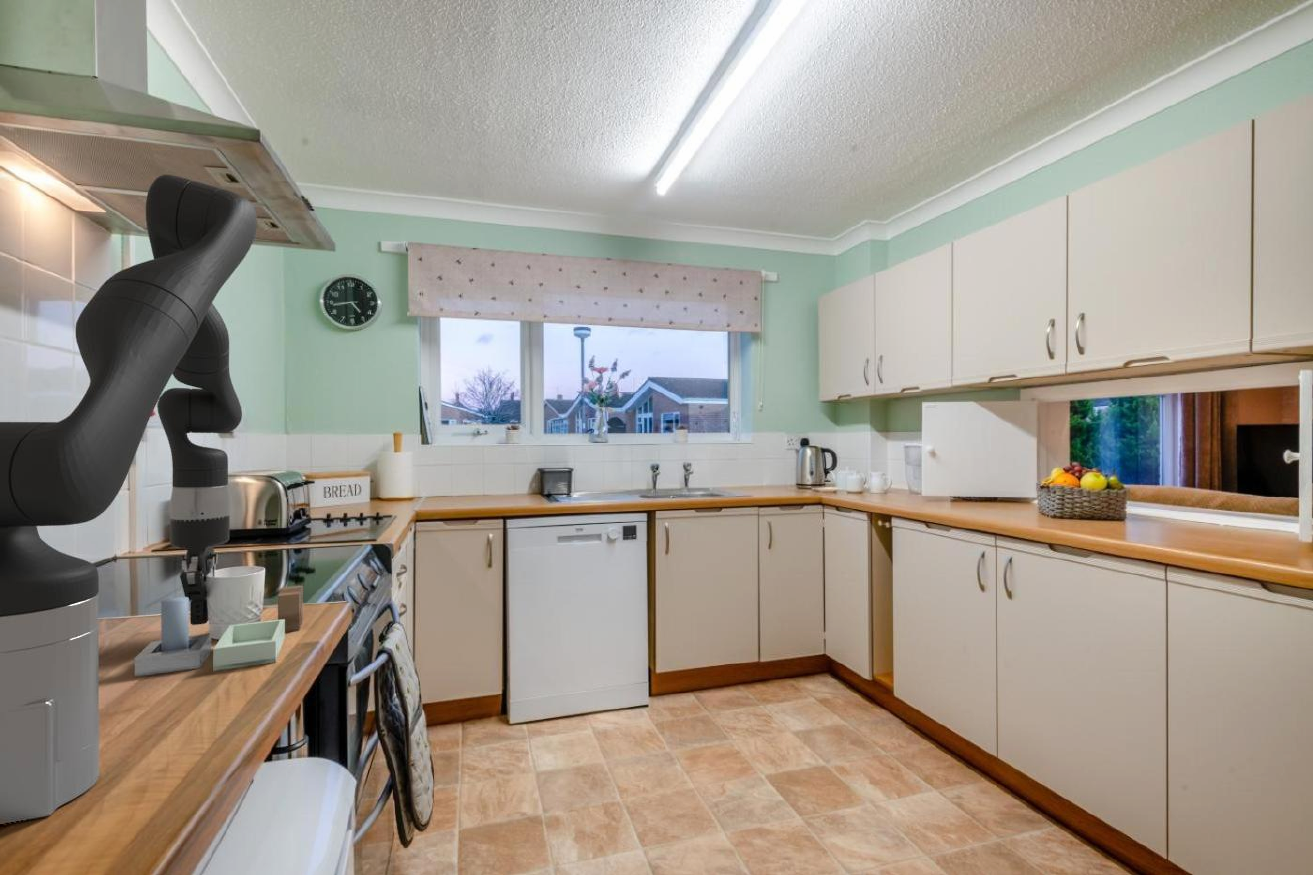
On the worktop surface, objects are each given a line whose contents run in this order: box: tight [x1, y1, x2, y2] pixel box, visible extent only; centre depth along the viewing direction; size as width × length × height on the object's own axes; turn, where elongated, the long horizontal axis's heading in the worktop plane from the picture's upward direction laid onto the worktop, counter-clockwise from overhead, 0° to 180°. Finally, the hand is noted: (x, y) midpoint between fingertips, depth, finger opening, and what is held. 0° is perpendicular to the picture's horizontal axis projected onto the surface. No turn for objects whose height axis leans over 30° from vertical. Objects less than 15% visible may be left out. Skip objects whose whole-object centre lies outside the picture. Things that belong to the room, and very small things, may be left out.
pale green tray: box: [212, 619, 286, 672], centre depth 88 cm, size 11×7×3 cm, turn 26°
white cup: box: [206, 565, 266, 641], centre depth 97 cm, size 8×8×10 cm
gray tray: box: [134, 634, 212, 678], centre depth 84 cm, size 7×7×2 cm
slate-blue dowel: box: [160, 596, 190, 652], centre depth 84 cm, size 3×3×9 cm
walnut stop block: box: [277, 585, 304, 633], centre depth 100 cm, size 6×3×6 cm, turn 26°
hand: (200, 622), depth 95 cm, fingers closed
